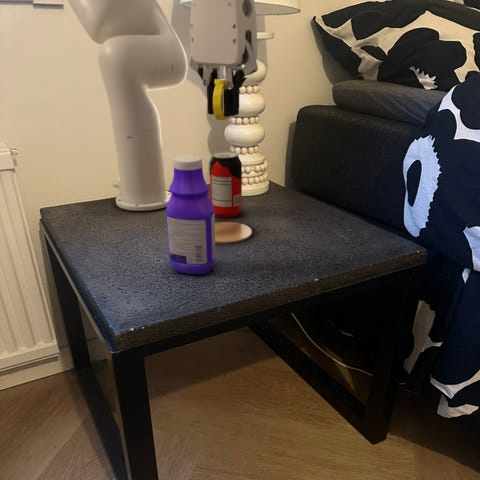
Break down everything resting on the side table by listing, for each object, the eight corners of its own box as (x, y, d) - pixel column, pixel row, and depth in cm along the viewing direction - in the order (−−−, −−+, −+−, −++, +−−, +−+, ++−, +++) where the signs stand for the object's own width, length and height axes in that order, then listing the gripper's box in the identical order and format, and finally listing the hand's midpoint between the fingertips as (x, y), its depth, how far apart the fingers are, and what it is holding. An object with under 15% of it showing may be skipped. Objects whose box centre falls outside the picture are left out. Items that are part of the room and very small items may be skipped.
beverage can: (248, 213, 98) (248, 153, 92) (227, 221, 94) (226, 159, 88) (225, 206, 102) (224, 148, 95) (205, 214, 98) (202, 154, 91)
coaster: (187, 235, 88) (187, 233, 88) (221, 220, 95) (221, 218, 95) (229, 248, 83) (229, 246, 83) (262, 231, 90) (262, 229, 90)
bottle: (219, 263, 78) (216, 154, 69) (210, 278, 73) (205, 163, 64) (177, 259, 79) (169, 151, 70) (165, 274, 75) (155, 160, 65)
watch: (225, 123, 75) (224, 81, 72) (208, 122, 76) (207, 80, 73) (237, 117, 80) (237, 77, 77) (221, 116, 81) (221, 77, 78)
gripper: (282, -25, 66) (277, 116, 76) (196, -20, 74) (201, 107, 84) (251, -29, 61) (249, 123, 71) (162, -23, 69) (171, 112, 79)
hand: (223, 113), depth 77 cm, fingers closed on watch, 2 cm apart
